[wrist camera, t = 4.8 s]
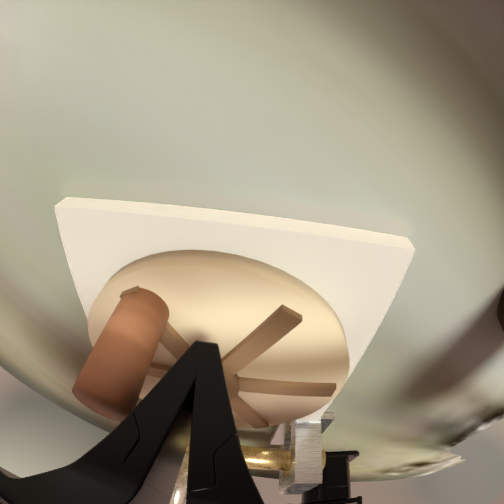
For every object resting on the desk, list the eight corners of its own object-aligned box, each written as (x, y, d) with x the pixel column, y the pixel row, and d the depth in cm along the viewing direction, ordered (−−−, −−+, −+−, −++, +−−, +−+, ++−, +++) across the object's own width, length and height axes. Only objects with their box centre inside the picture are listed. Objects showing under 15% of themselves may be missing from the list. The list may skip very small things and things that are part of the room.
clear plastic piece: (310, 440, 23) (310, 494, 18) (181, 426, 23) (169, 480, 18) (334, 412, 19) (337, 481, 14) (173, 395, 19) (154, 463, 14)
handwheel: (364, 390, 15) (375, 475, 10) (187, 417, 19) (172, 482, 14) (289, 195, 9) (298, 339, 4) (58, 297, 13) (5, 376, 8)
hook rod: (318, 452, 20) (318, 527, 13) (178, 438, 20) (162, 513, 14) (325, 446, 19) (326, 526, 12) (175, 431, 19) (157, 512, 12)
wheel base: (317, 409, 19) (318, 420, 18) (124, 380, 19) (120, 390, 18) (406, 237, 11) (415, 250, 10) (66, 197, 11) (54, 206, 10)
